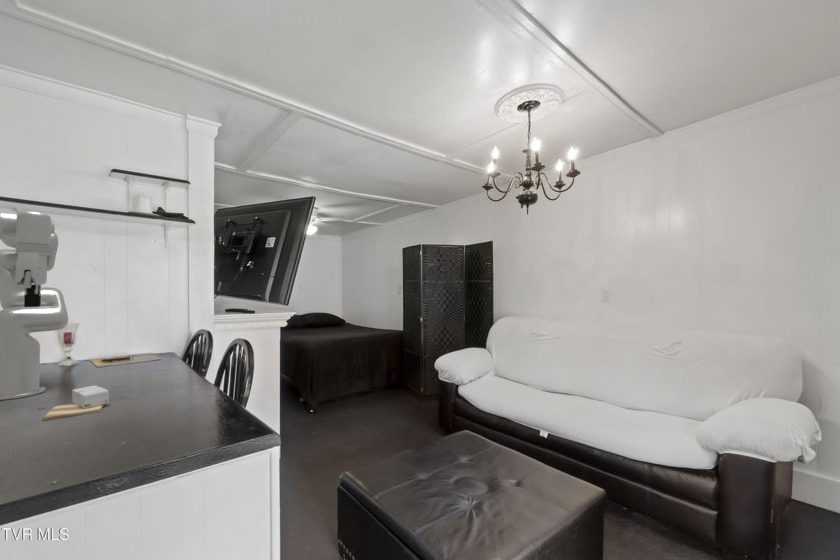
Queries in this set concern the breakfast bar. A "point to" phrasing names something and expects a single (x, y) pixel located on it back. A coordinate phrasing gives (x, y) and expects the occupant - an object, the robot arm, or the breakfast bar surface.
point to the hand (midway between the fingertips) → (32, 306)
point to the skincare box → (90, 396)
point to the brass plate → (69, 411)
